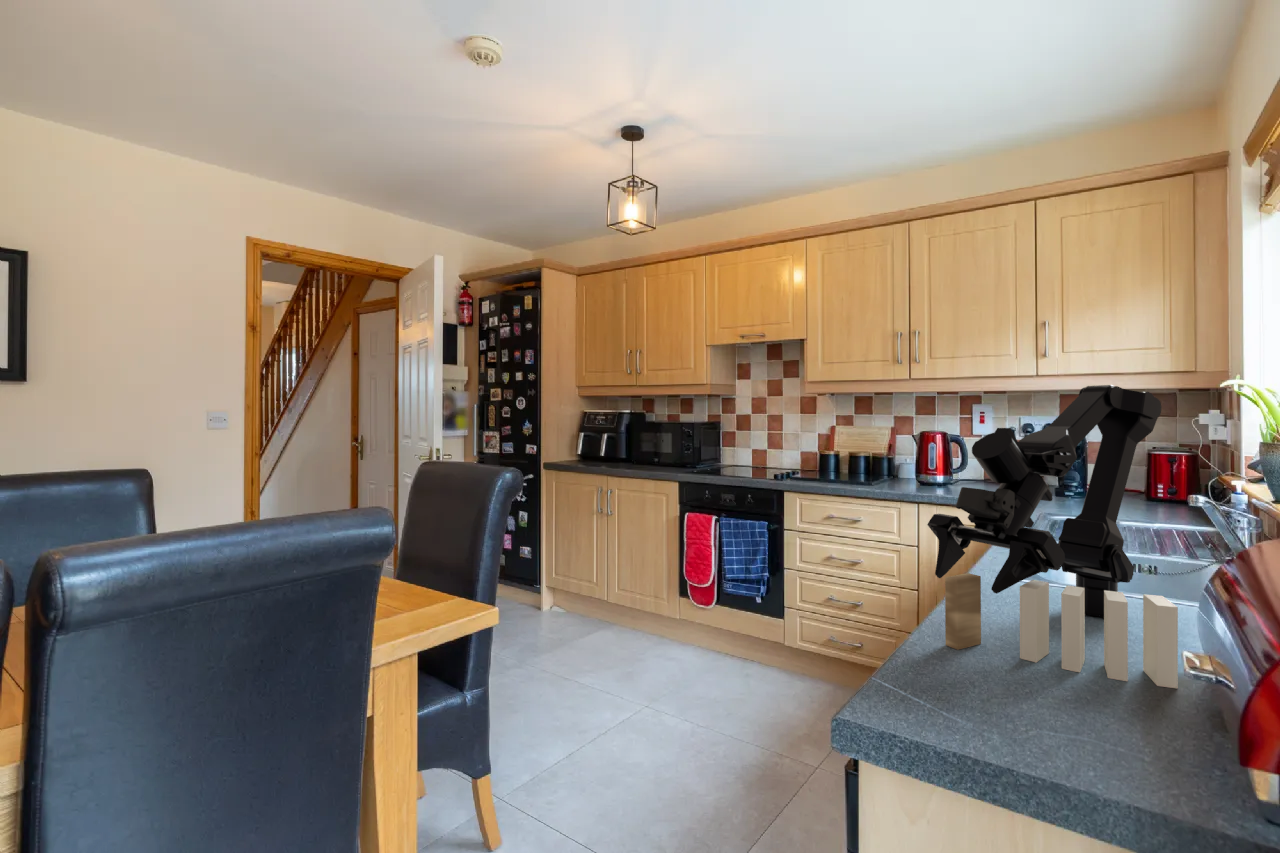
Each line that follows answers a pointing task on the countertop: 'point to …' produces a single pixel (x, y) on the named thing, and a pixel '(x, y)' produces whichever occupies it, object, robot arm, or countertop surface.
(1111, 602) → the domino
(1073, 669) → the domino
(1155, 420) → the robot arm
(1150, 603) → the domino
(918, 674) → the countertop surface
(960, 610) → the domino
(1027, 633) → the domino
